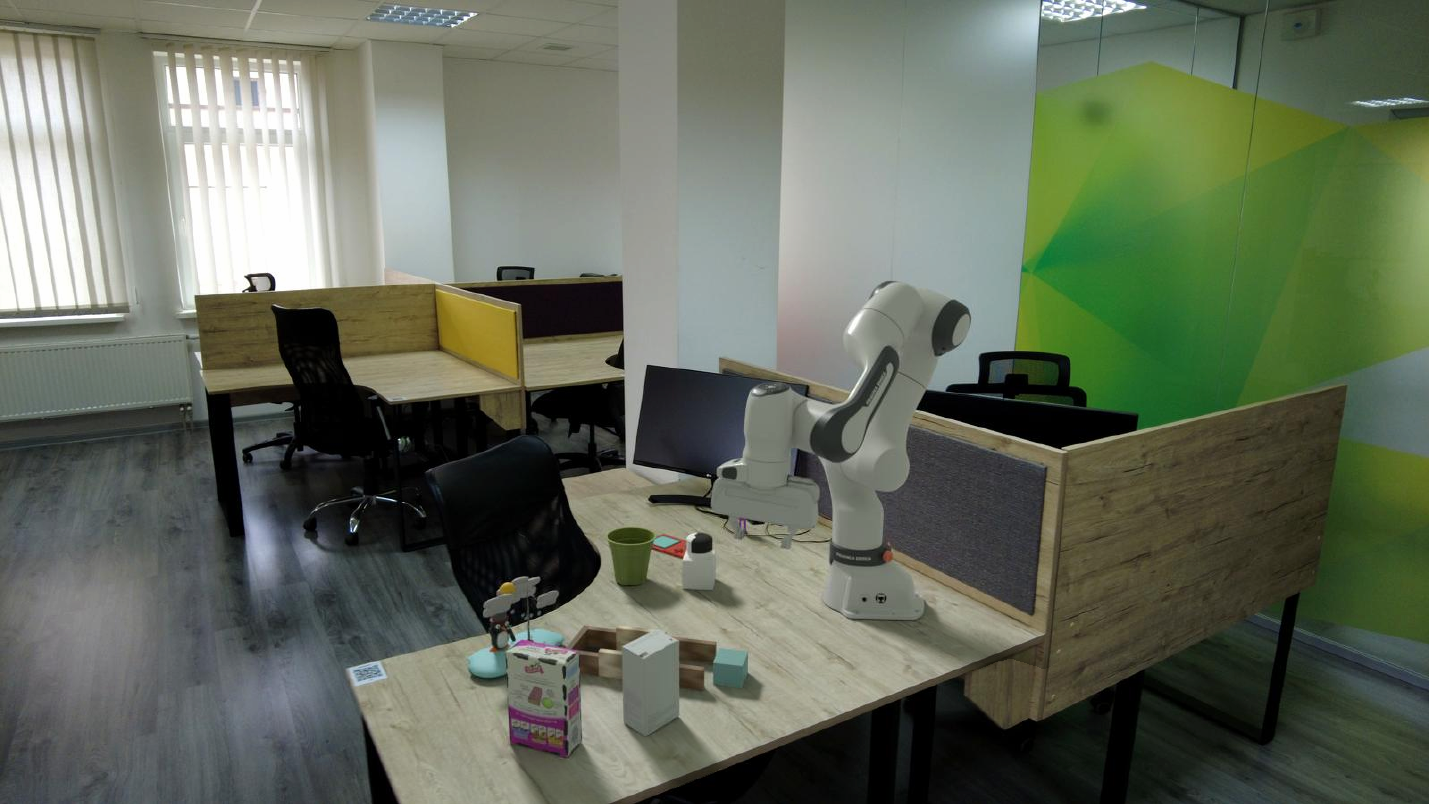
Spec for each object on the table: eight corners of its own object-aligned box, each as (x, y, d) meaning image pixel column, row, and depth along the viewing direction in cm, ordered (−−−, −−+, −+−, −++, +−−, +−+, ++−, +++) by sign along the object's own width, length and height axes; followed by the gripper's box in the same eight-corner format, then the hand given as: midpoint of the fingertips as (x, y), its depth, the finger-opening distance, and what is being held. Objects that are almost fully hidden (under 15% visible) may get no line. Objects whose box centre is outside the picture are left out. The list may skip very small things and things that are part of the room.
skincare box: (657, 704, 150) (656, 626, 147) (681, 718, 146) (681, 638, 143) (621, 724, 144) (619, 644, 141) (645, 739, 140) (644, 656, 137)
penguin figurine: (484, 688, 154) (480, 611, 151) (455, 666, 162) (450, 592, 159) (574, 650, 168) (572, 578, 165) (544, 631, 176) (541, 563, 172)
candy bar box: (583, 741, 139) (581, 649, 136) (568, 759, 134) (565, 664, 131) (525, 726, 143) (521, 637, 139) (508, 743, 138) (503, 651, 135)
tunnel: (716, 660, 165) (716, 637, 164) (702, 690, 154) (702, 665, 153) (584, 643, 171) (584, 620, 170) (563, 671, 160) (562, 647, 159)
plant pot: (644, 593, 194) (644, 547, 191) (597, 586, 197) (596, 540, 195) (664, 573, 205) (664, 529, 202) (619, 567, 208) (618, 523, 206)
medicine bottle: (715, 578, 202) (716, 530, 200) (712, 591, 195) (713, 541, 193) (686, 576, 203) (686, 529, 201) (682, 589, 196) (682, 540, 194)
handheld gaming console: (684, 557, 213) (640, 542, 222) (684, 561, 213) (640, 547, 222) (707, 546, 220) (663, 532, 229) (707, 550, 220) (663, 537, 229)
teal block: (747, 673, 161) (748, 651, 160) (742, 688, 155) (742, 666, 154) (719, 669, 162) (719, 647, 161) (712, 684, 157) (713, 662, 156)
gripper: (825, 476, 154) (820, 548, 157) (722, 459, 162) (719, 528, 165) (814, 484, 148) (809, 559, 151) (709, 467, 157) (706, 538, 159)
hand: (762, 543), depth 158 cm, fingers open, 8 cm apart
